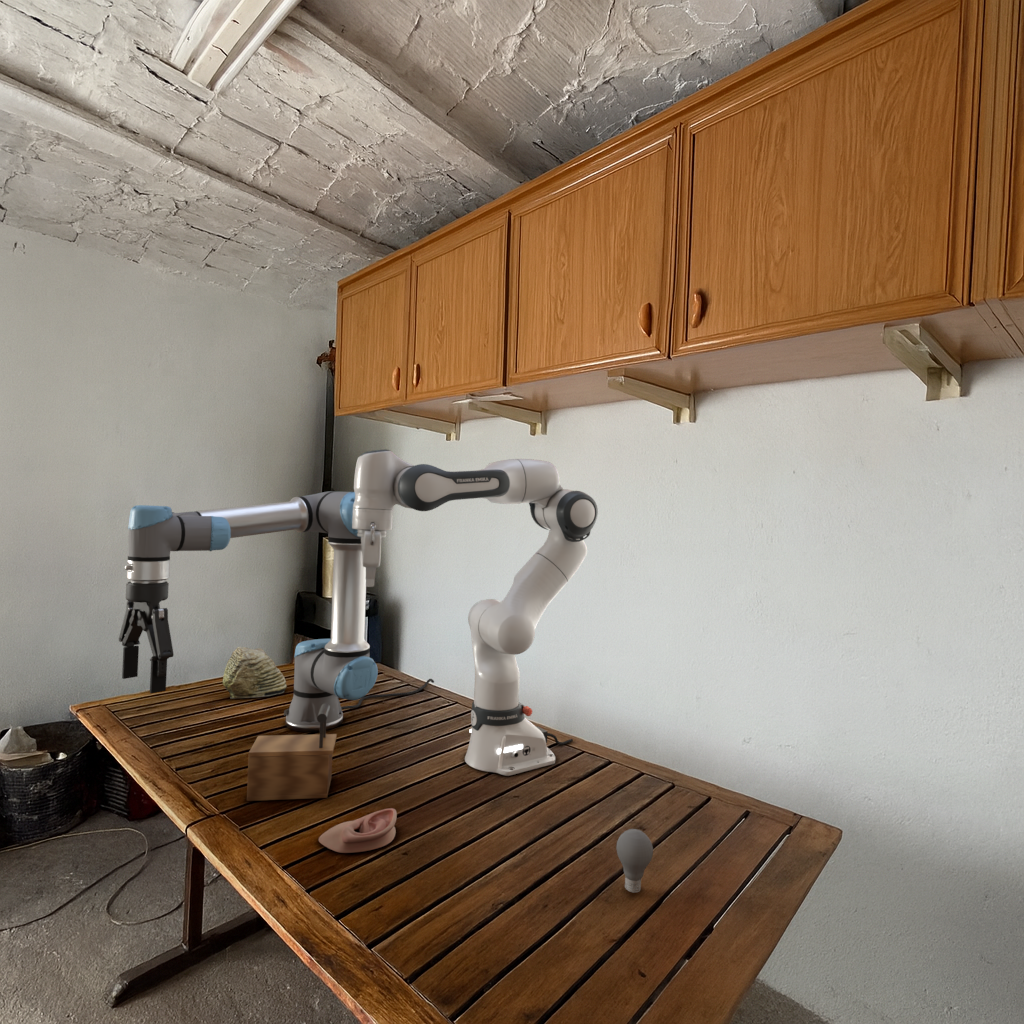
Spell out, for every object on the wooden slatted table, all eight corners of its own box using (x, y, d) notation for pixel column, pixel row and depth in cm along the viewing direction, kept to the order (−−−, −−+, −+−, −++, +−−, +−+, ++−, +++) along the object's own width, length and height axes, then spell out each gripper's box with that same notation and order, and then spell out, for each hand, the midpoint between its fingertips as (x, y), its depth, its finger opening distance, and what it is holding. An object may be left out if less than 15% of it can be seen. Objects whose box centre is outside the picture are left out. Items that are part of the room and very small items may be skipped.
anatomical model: (310, 826, 114) (340, 797, 125) (309, 848, 114) (339, 817, 125) (379, 837, 111) (403, 806, 122) (378, 859, 111) (403, 827, 123)
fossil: (218, 695, 195) (220, 647, 195) (278, 685, 208) (279, 640, 207) (228, 703, 189) (230, 653, 188) (289, 692, 201) (290, 645, 201)
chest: (331, 778, 143) (333, 738, 142) (327, 798, 133) (328, 755, 133) (256, 781, 140) (257, 740, 139) (246, 801, 130) (248, 757, 130)
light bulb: (610, 879, 108) (613, 822, 108) (644, 879, 109) (647, 822, 109) (619, 902, 102) (622, 840, 102) (655, 901, 103) (658, 840, 103)
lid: (336, 738, 142) (338, 701, 142) (332, 754, 133) (334, 715, 133) (257, 739, 139) (259, 702, 139) (248, 757, 130) (249, 716, 130)
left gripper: (103, 575, 134) (99, 675, 134) (154, 589, 119) (149, 702, 119) (142, 573, 140) (137, 668, 140) (195, 586, 124) (190, 694, 125)
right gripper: (388, 524, 132) (385, 590, 132) (385, 520, 152) (382, 577, 152) (357, 523, 131) (354, 590, 131) (358, 519, 150) (355, 577, 151)
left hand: (143, 684), depth 130 cm, fingers open, 13 cm apart
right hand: (369, 583), depth 142 cm, fingers open, 8 cm apart
